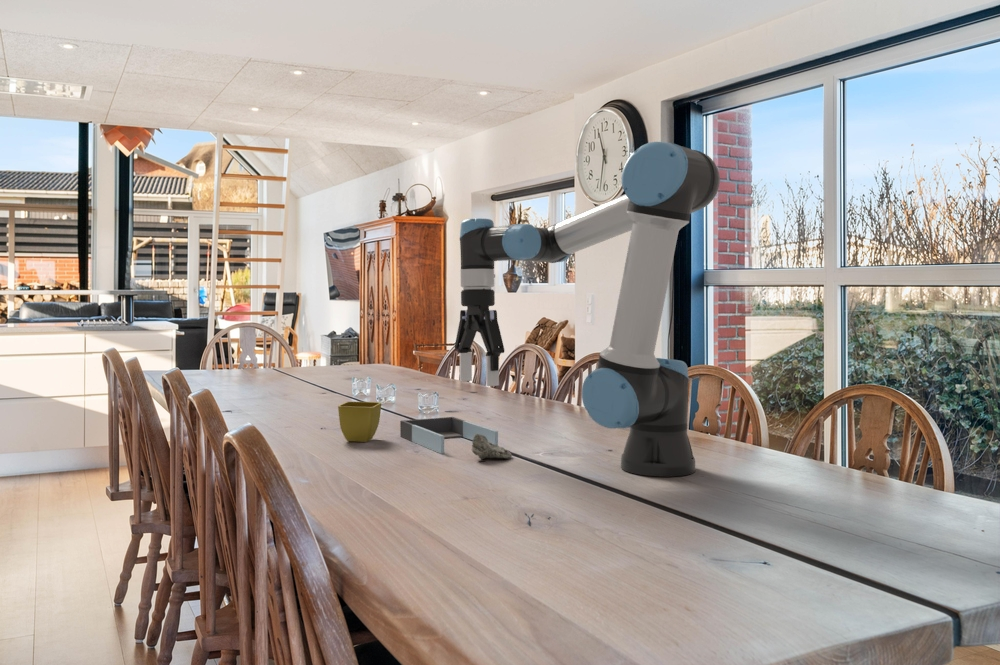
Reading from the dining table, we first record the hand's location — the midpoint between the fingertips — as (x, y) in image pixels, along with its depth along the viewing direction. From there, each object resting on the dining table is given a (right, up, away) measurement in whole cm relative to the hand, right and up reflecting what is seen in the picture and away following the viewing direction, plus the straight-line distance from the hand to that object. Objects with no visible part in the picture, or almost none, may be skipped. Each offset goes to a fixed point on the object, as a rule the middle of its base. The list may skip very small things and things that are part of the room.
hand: (478, 383), depth 185 cm
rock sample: (+3, -17, -3) cm, 17 cm away
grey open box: (-12, -15, +22) cm, 29 cm away
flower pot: (-29, -15, +16) cm, 37 cm away
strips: (-6, -15, +11) cm, 20 cm away
